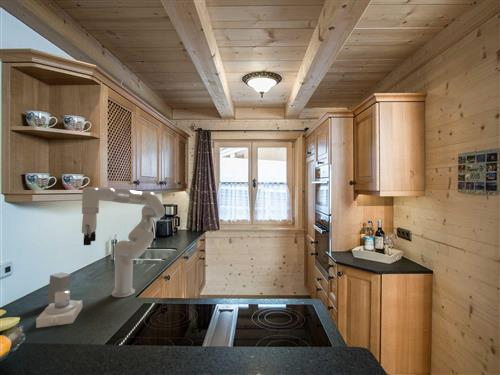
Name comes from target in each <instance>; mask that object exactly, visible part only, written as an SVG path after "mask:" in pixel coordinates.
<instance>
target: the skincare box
mask: <svg viewBox="0 0 500 375" xmlns="http://www.w3.org/2000/svg"><path fill="white" fill-rule="evenodd" d="M71 282H72V274H70V273H68V272H67V273H65V272H57V273H54V274H50V276H49V283H48V285H49V286H48V294H47V302H46V303H47V305H48V306H49V305H50V304H52V303H55V292H57V291H59V290H64V289H69V290H70V291H71V284H72V283H71Z"/></svg>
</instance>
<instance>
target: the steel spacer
mask: <svg viewBox="0 0 500 375" xmlns="http://www.w3.org/2000/svg"><path fill="white" fill-rule="evenodd" d="M70 296H71V289H70V290H69V289H64V290H59V291H57V292H55V308H56V309H61V308H65V307H67V306H69V305H70V300H71V297H70Z"/></svg>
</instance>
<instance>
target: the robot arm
mask: <svg viewBox="0 0 500 375" xmlns="http://www.w3.org/2000/svg"><path fill="white" fill-rule="evenodd" d="M81 199H82V200H81V202H82V203H81V214H82V222H81V233H82V234H83V243H82V244H83V246H91V245H92V242H96V235H97V234H96V230H97V226H98V225H97V222H98V220H97V216H98V215H97V214H99V211H100V209H99V208H100V205H99V204H100V201H103V202H113V203H114V202H115V203H119V204H129V205H139V206H140V205H142V208H141V218H140V222H139V223H138V224H137V225H136V226H135V227H134V228H133V229H132V230H131V231H130V232H129V233H128V236H127V237H128V238H127V239H128V240H119V241H118V242H115V245H114V246H113V254H114V255H113V257H114V264H115V267H114V269H115V270H114V290H113V291H112V292H111V296H112V297H113V298H126V297H130V296H132V295H134V294H135V292H136V289H135V288H133V273H134V272H133V270H134V268H133V266H134V265H133V260H134V259H135V260H136V259H138V258H140V257H141V256H142V255H143V254H144V253H145V251H146V250H147V249H148V248H149V247H150V246H151V244H152V243H153V241H154V238H155V237H154V236H155V235H154V233H153V231H152V228H153V227H154V222H153V221H154V220H153V219H161V218H163V217H164V216H165V214H166V208H165V206H164V204H163V203H162V201H161V200H160V199H159V197H158V196H157V195H156V194H155V193H154V192H152V191H140V190H134V189H126V188H124V189H123V188H112V187H109V186H108V187H107V186H95V187H93V186H91V187H89V186H87V187H83V189H82V194H81Z"/></svg>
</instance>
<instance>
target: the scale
mask: <svg viewBox="0 0 500 375" xmlns="http://www.w3.org/2000/svg"><path fill="white" fill-rule="evenodd" d="M82 309H83V300H81V299H80V300H74V299H70V305H69V306H67V307H65V308H61V309H56V308H55V303H52V304H50V305H48V306H46V307H45V308H44V310H43V311H42V312H41V313H40V314H39V315H38V317H36V319H35V321H36V322H35V325H36V326H35V328H45V327H46V328H47V327H55V326H62V325H67V324H68V325H69V324H73V323H74V322H75V320H76V319H77V317H78V315H79V314H80V312H81V311H82Z"/></svg>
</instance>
